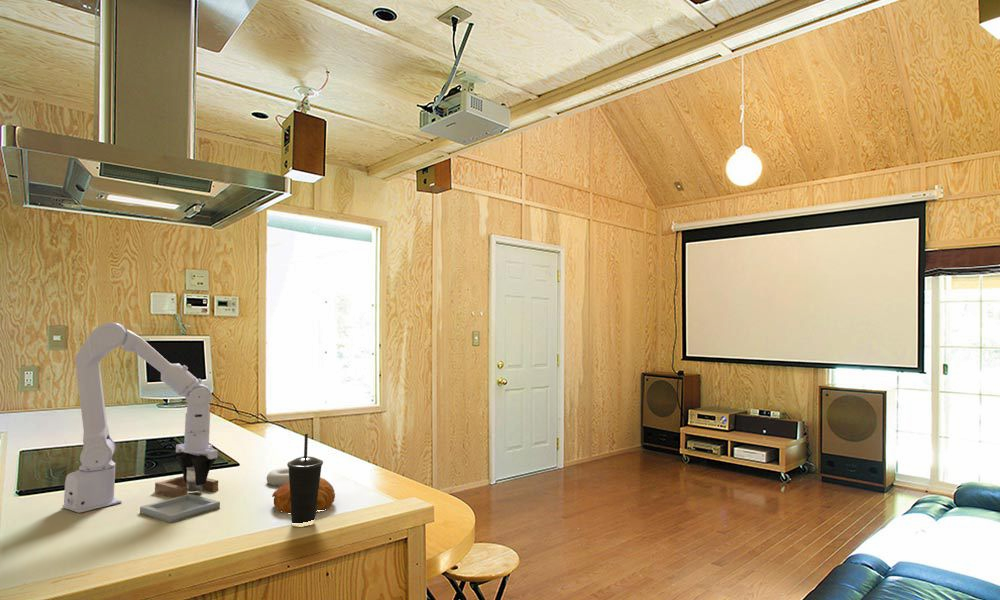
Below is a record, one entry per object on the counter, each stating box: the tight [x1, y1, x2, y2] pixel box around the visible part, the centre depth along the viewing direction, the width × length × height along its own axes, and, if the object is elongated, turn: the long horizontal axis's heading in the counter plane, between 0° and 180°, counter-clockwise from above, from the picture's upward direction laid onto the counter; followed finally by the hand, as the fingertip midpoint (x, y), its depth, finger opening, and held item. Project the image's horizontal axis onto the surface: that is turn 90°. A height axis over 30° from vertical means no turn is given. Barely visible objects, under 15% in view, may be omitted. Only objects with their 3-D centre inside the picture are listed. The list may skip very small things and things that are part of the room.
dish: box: [139, 493, 221, 524], centre depth 136 cm, size 12×12×2 cm
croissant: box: [271, 476, 336, 514], centre depth 141 cm, size 14×16×8 cm
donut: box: [266, 467, 289, 487], centre depth 161 cm, size 10×4×10 cm
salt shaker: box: [185, 465, 204, 493], centre depth 149 cm, size 4×4×6 cm
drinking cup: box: [286, 433, 324, 524], centre depth 129 cm, size 8×8×20 cm
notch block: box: [154, 475, 219, 498], centre depth 151 cm, size 10×12×2 cm
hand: (195, 483), depth 149 cm, fingers closed on salt shaker, 4 cm apart
